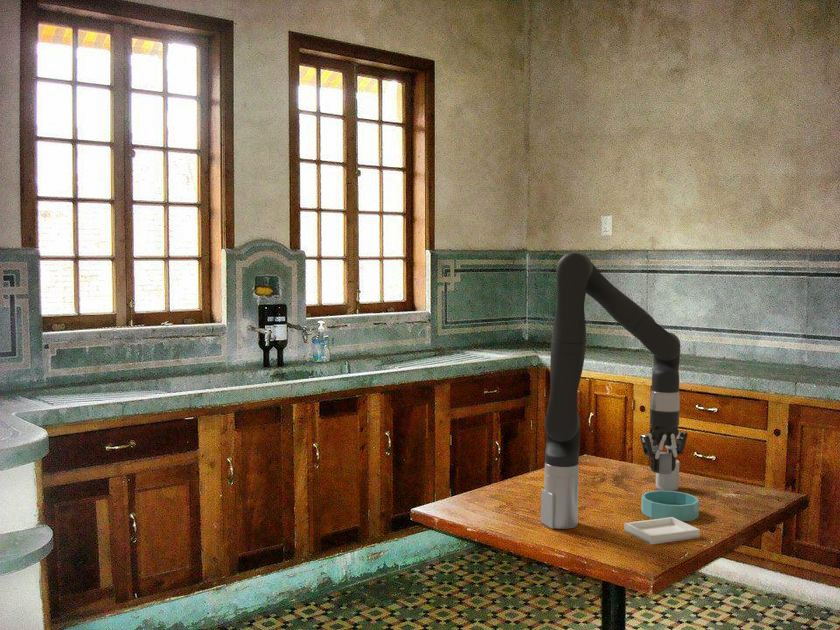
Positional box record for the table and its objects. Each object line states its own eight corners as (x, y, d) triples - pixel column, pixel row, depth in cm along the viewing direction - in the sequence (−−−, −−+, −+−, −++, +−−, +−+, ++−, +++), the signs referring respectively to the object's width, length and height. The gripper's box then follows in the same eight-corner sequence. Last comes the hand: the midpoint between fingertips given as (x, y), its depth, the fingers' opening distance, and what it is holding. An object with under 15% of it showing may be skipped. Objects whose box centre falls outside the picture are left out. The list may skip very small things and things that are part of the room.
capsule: (661, 474, 227) (661, 456, 227) (651, 470, 232) (651, 452, 231) (674, 473, 229) (675, 454, 229) (664, 469, 233) (665, 451, 233)
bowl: (664, 523, 240) (664, 508, 240) (631, 508, 255) (631, 493, 254) (709, 518, 246) (710, 502, 246) (674, 503, 260) (675, 488, 260)
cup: (682, 487, 278) (683, 460, 277) (669, 494, 270) (670, 466, 269) (661, 483, 282) (661, 457, 282) (647, 490, 275) (648, 462, 274)
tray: (650, 544, 223) (650, 536, 223) (624, 531, 234) (624, 523, 234) (699, 537, 229) (699, 529, 229) (671, 524, 240) (672, 517, 239)
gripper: (650, 411, 223) (649, 477, 224) (696, 408, 228) (694, 472, 229) (633, 407, 230) (632, 470, 231) (677, 404, 235) (676, 465, 236)
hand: (663, 470), depth 230 cm, fingers closed on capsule, 4 cm apart
